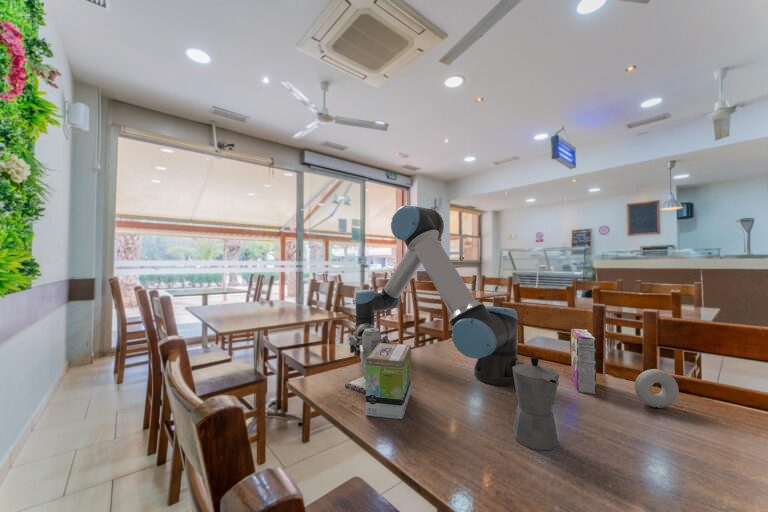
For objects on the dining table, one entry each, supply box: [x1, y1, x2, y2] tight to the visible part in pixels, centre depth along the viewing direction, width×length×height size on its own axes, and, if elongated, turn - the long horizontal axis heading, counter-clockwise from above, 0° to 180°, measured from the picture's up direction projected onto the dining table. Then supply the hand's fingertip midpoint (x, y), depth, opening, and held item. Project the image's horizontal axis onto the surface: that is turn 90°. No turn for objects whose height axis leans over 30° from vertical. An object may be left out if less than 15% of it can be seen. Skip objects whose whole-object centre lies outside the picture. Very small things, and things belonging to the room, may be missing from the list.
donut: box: [634, 368, 680, 409], centre depth 85 cm, size 10×4×10 cm, turn 83°
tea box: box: [365, 343, 412, 420], centre depth 87 cm, size 15×10×15 cm, turn 168°
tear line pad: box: [344, 375, 366, 394], centre depth 101 cm, size 10×12×1 cm
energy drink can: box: [361, 327, 382, 379], centre depth 101 cm, size 6×6×15 cm
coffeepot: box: [509, 356, 560, 451], centre depth 72 cm, size 15×9×18 cm, turn 13°
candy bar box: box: [570, 328, 597, 395], centre depth 99 cm, size 11×5×16 cm, turn 158°
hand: (373, 355), depth 96 cm, fingers closed on energy drink can, 6 cm apart
